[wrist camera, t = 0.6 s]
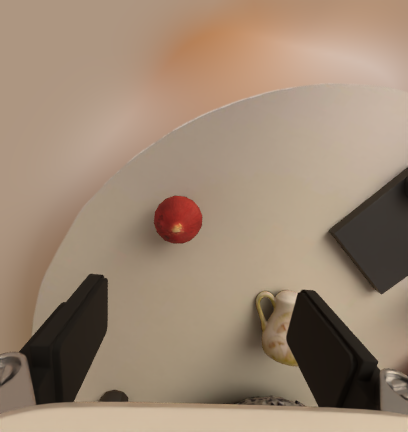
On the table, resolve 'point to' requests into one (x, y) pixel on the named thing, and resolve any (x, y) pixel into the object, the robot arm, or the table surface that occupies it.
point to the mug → (277, 326)
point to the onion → (178, 219)
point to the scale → (379, 235)
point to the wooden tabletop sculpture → (114, 397)
